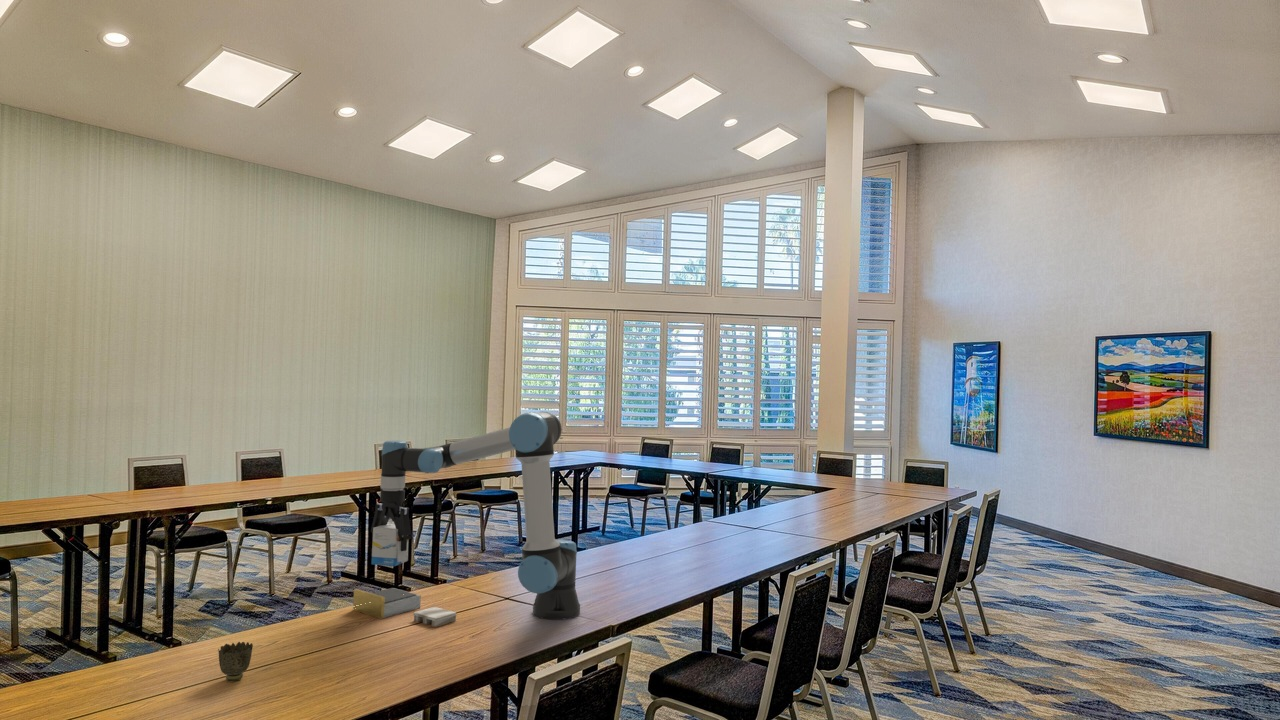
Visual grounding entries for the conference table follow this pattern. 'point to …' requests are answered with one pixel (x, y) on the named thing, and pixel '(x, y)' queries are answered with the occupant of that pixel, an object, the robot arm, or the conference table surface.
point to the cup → (235, 660)
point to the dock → (385, 602)
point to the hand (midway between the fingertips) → (390, 558)
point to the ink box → (386, 545)
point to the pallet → (435, 616)
